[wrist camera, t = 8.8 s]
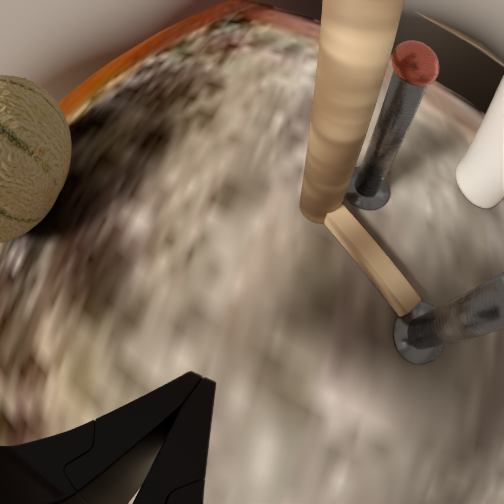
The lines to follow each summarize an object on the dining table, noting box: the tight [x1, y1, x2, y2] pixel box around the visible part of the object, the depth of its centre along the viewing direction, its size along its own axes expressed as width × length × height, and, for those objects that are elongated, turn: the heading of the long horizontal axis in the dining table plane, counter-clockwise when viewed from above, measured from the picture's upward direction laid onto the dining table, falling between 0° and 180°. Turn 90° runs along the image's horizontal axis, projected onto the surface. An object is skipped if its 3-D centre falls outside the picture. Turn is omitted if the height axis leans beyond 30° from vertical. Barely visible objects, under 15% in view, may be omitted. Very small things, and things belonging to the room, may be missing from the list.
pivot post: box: [393, 273, 504, 364], centre depth 15 cm, size 4×4×10 cm
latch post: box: [345, 41, 439, 210], centre depth 17 cm, size 4×4×14 cm
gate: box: [300, 0, 421, 317], centre depth 12 cm, size 12×3×20 cm, turn 35°
